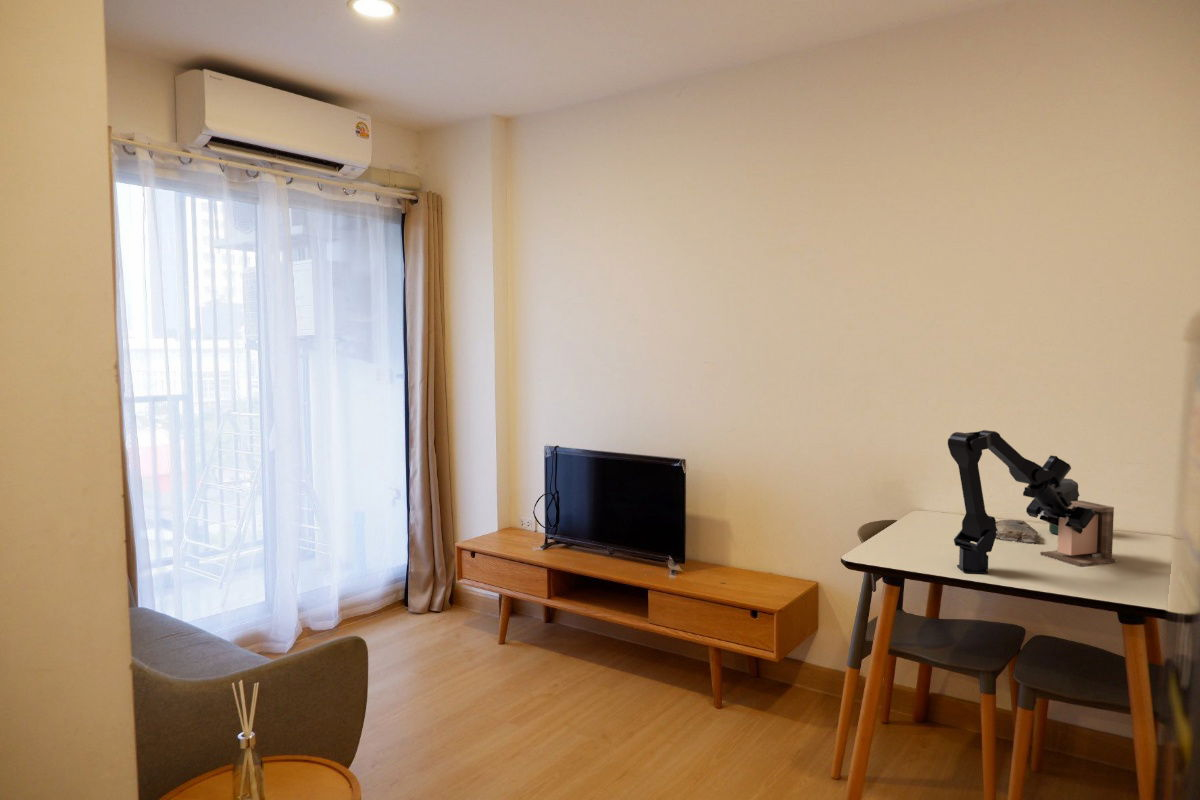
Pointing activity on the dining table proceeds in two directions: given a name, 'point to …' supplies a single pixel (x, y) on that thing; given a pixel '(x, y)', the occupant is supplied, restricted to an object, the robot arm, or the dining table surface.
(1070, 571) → the dining table surface
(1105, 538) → the walnut shelf
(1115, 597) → the dining table surface
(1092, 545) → the terracotta slab
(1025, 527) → the jagged gray stone
